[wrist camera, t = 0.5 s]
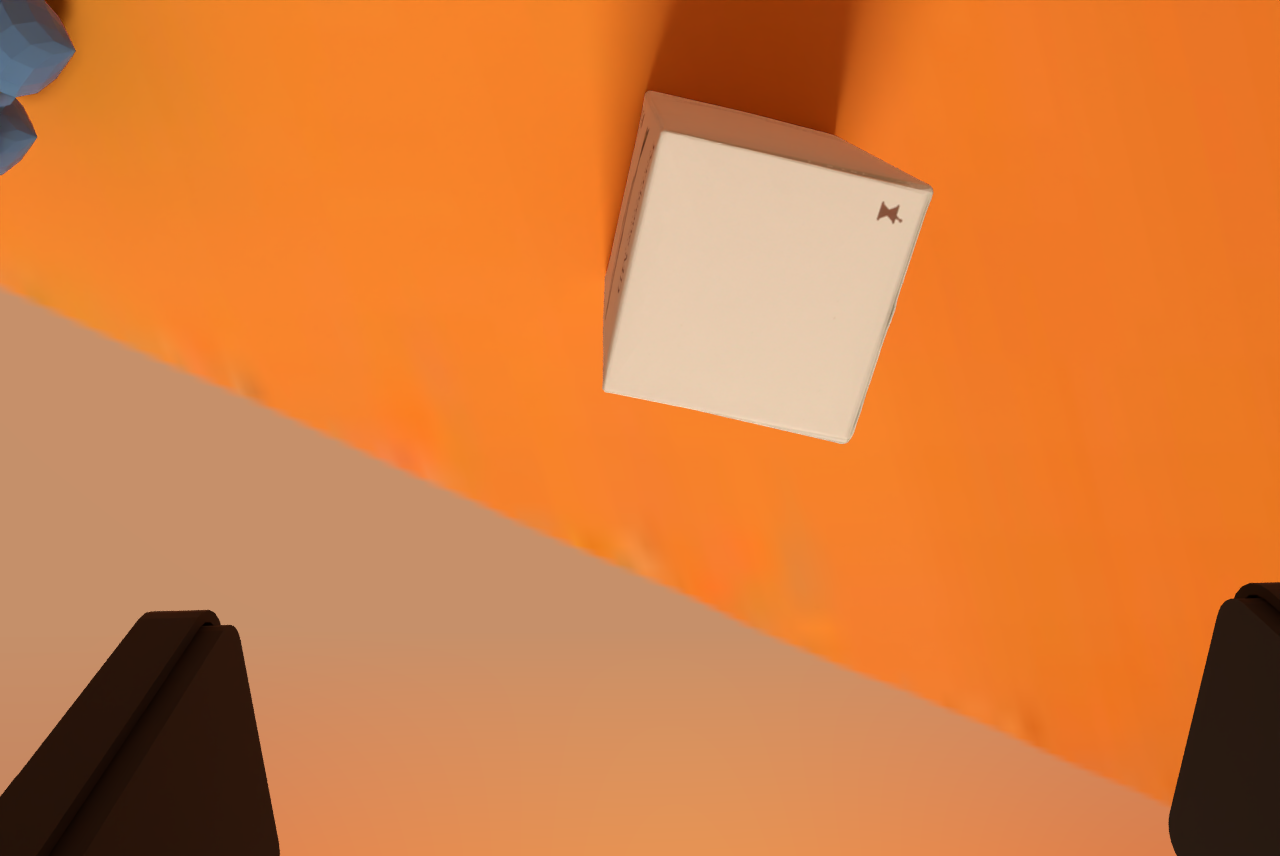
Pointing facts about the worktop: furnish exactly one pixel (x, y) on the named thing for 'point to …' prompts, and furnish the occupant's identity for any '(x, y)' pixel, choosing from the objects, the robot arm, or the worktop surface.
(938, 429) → the worktop surface
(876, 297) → the supplement box
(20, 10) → the grapes
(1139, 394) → the worktop surface
